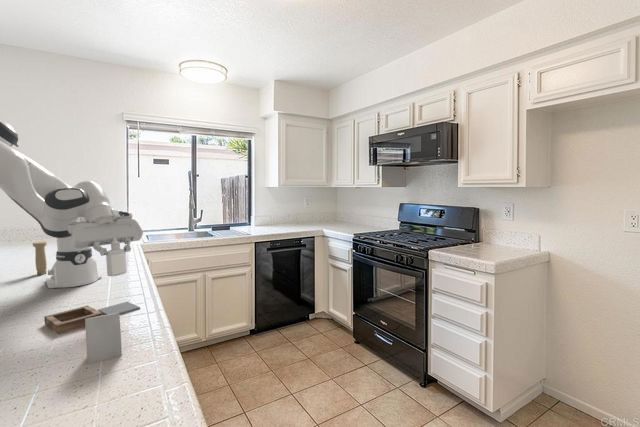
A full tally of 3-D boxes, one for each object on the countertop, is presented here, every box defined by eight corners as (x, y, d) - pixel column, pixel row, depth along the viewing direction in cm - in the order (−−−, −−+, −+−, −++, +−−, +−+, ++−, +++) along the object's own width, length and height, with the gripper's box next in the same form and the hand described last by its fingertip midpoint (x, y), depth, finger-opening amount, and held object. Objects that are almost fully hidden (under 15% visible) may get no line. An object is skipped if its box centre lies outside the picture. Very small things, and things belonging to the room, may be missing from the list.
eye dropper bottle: (128, 274, 107) (126, 237, 106) (108, 277, 103) (105, 239, 102) (125, 271, 110) (123, 236, 109) (106, 274, 107) (103, 238, 106)
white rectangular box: (121, 355, 79) (119, 315, 78) (87, 364, 75) (84, 321, 74) (120, 349, 82) (118, 310, 81) (87, 357, 78) (85, 316, 77)
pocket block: (44, 324, 96) (44, 316, 96) (88, 312, 105) (87, 305, 105) (57, 334, 90) (57, 325, 90) (102, 321, 99) (102, 313, 99)
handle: (34, 276, 149) (32, 243, 148) (35, 273, 154) (32, 241, 152) (48, 274, 152) (46, 242, 151) (48, 271, 157) (46, 240, 156)
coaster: (98, 311, 107) (98, 309, 107) (127, 303, 114) (127, 301, 114) (110, 317, 102) (110, 315, 102) (140, 308, 109) (140, 307, 109)
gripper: (67, 216, 101) (81, 251, 96) (136, 212, 117) (151, 242, 113) (62, 229, 104) (76, 264, 99) (130, 223, 120) (145, 253, 116)
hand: (116, 252), depth 106 cm, fingers closed on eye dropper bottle, 6 cm apart
